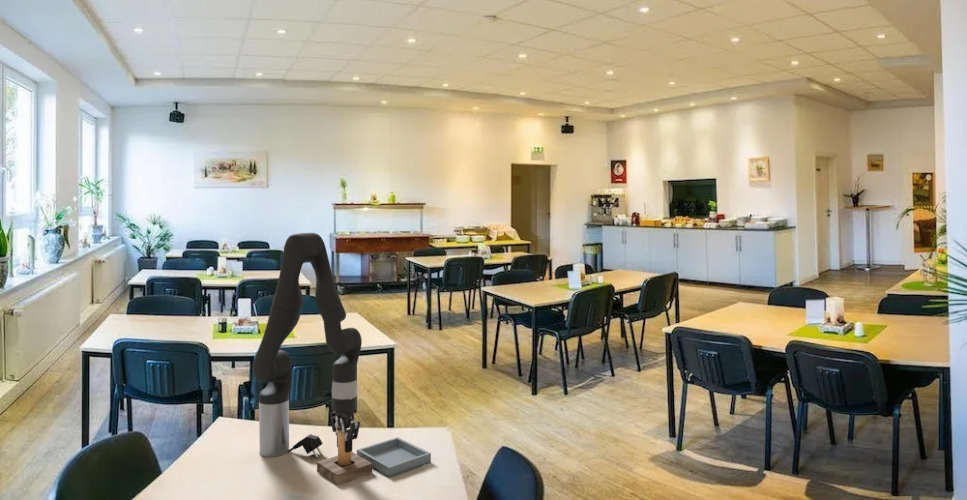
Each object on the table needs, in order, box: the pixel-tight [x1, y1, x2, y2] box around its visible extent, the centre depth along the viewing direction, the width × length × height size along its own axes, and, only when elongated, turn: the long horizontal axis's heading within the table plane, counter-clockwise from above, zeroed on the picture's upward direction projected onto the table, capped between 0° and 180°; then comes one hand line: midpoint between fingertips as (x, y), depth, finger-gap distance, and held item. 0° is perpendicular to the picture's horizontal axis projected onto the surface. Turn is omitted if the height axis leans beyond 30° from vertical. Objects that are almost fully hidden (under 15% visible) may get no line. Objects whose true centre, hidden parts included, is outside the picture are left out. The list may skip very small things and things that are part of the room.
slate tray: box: [356, 436, 432, 478], centre depth 194 cm, size 18×16×3 cm
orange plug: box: [337, 428, 352, 466], centre depth 185 cm, size 4×4×10 cm
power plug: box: [287, 433, 324, 459], centre depth 198 cm, size 6×8×12 cm
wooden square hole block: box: [316, 451, 373, 486], centre depth 185 cm, size 12×12×3 cm
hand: (344, 449), depth 185 cm, fingers closed on orange plug, 4 cm apart
